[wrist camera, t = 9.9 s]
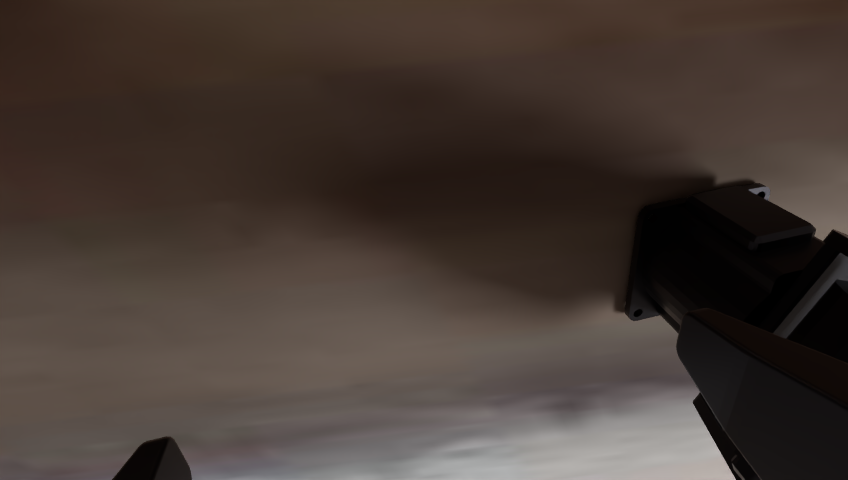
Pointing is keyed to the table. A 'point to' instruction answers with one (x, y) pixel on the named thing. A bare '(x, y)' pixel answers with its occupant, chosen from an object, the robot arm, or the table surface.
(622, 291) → the table surface
